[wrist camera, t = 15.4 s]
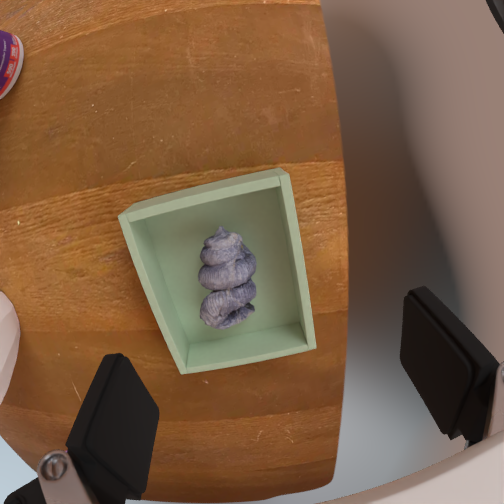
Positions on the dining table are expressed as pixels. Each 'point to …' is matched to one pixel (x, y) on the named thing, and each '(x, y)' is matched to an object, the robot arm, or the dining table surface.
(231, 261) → the seashell
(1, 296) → the vase
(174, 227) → the box
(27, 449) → the dining table surface
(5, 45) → the pill bottle
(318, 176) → the dining table surface
